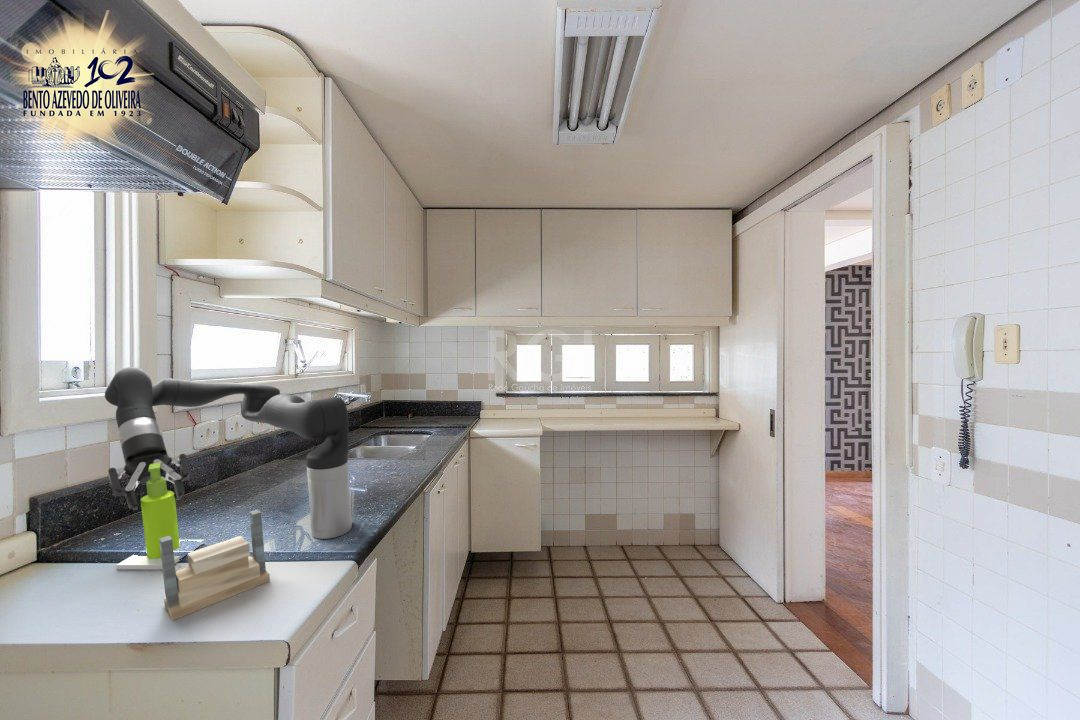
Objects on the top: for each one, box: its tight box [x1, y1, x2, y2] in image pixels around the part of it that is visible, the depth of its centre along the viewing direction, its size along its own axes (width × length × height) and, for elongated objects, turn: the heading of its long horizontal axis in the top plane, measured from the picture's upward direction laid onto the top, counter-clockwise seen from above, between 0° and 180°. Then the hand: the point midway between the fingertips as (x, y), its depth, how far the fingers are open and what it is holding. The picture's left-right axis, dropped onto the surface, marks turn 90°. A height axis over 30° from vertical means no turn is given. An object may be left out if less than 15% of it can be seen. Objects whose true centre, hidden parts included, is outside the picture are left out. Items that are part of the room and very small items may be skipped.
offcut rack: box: [159, 509, 271, 621], centre depth 91 cm, size 6×16×14 cm, turn 139°
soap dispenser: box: [140, 462, 180, 559], centre depth 105 cm, size 6×7×20 cm
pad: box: [115, 539, 205, 570], centre depth 106 cm, size 11×11×1 cm
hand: (158, 502), depth 104 cm, fingers open, 7 cm apart
